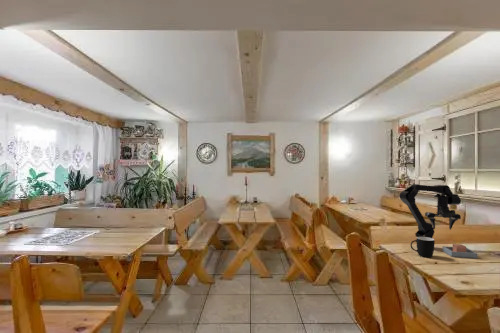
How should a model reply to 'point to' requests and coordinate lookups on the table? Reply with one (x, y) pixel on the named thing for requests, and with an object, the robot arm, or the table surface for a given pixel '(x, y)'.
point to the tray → (460, 253)
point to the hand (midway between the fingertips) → (442, 229)
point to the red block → (459, 248)
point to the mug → (424, 246)
